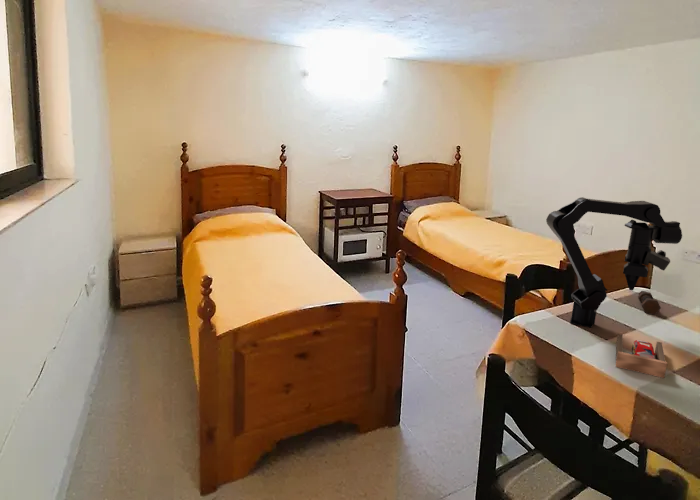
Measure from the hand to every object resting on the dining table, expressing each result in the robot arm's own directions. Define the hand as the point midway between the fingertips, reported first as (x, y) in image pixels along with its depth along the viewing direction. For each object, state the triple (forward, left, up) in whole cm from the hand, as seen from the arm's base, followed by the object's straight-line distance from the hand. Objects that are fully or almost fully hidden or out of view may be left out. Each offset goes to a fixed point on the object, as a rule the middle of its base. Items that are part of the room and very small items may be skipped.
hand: (631, 289), depth 147 cm
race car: (+4, -23, -12) cm, 27 cm away
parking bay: (+3, -24, -12) cm, 27 cm away
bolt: (+7, +23, -12) cm, 27 cm away
